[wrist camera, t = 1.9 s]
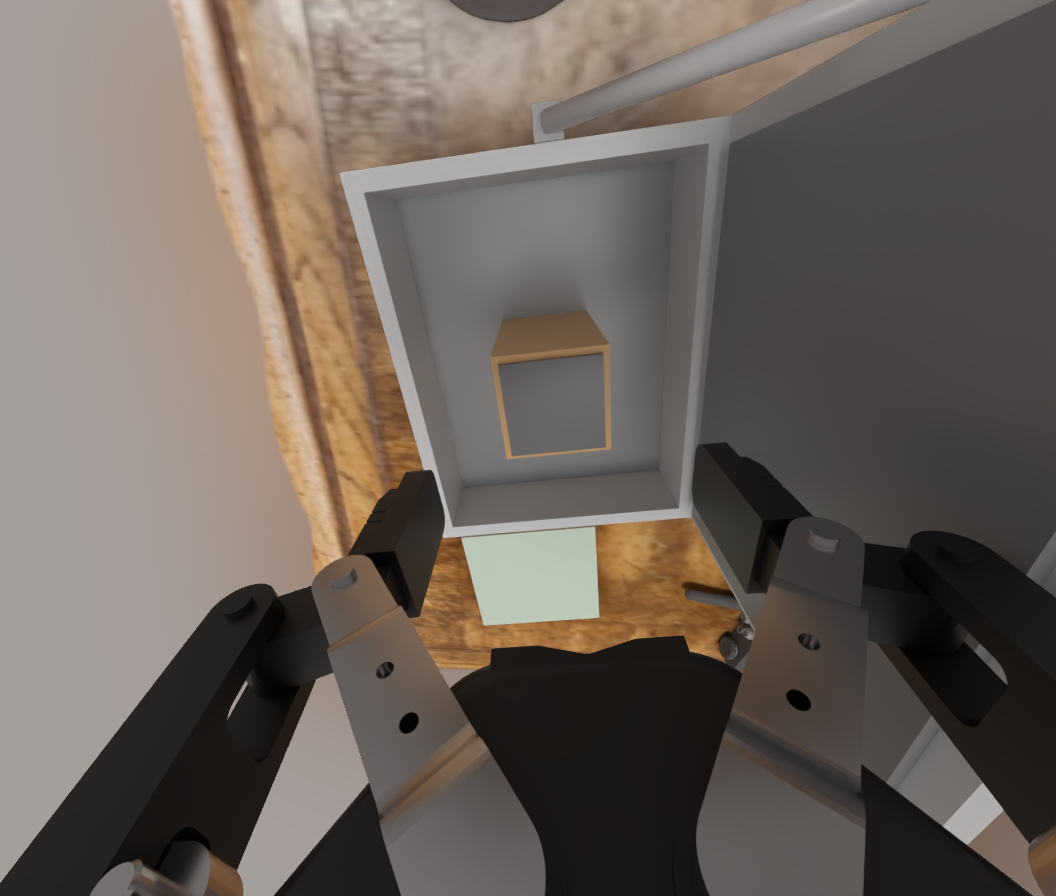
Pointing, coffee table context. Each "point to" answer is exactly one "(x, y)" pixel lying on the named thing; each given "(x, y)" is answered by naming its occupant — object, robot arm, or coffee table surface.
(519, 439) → the block
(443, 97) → the coffee table surface
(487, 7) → the pillar candle
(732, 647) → the walkie-talkie
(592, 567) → the pad
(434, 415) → the equipment case
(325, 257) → the coffee table surface
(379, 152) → the coffee table surface
